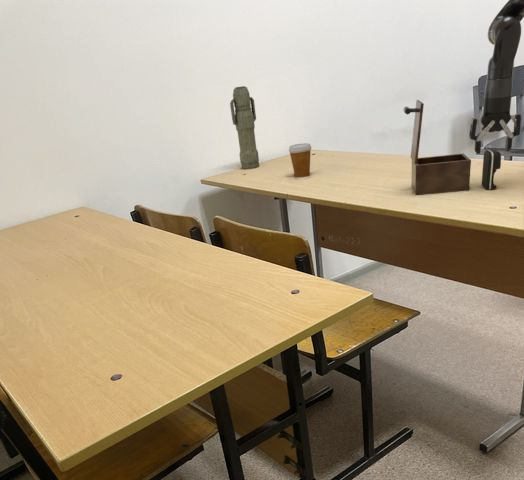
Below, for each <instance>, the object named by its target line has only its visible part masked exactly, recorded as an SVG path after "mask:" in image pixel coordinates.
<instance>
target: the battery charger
mask: <svg viewBox="0 0 524 480" xmlns="http://www.w3.org/2000/svg"><path fill="white" fill-rule="evenodd" d="M482 158H483V159H482V173H481V174H482V175H481V186H482V188H484V189H485V190H495V189H497V185H495V182H494V181H495V180H494V178H495V173H496V172H497V170H500V169H501V165H502V154H501V152H500V151H498V150H496V149H486V150H484V152H483V157H482Z"/></svg>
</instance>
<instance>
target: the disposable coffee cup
mask: <svg viewBox="0 0 524 480" xmlns="http://www.w3.org/2000/svg"><path fill="white" fill-rule="evenodd" d="M311 150H312V146H311V143H309V142H308V143H296V144H292V145H289V146H288V153H289V155H290V159H291V160H290V161H291V164H292V170H293V174H294V177H295V178H302V177H308V176H310V174H311V152H312V151H311Z"/></svg>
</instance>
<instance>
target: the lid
mask: <svg viewBox="0 0 524 480" xmlns="http://www.w3.org/2000/svg"><path fill="white" fill-rule="evenodd" d="M424 105H425V103H424V102H423V101H421V100H419V99H416V100H415V108H414V107H413V108H412V107H411V108H410V107H409V106H404V107H403V111H402V112H404V114H405V115H410V114H411V113H414V120H413V130H412V139H411V150H410V159H411V161H412V160H413V162H414V164H417V161H418V158H419V151H420V142H421V133H422V125H423V123H422V122H423V114H424Z"/></svg>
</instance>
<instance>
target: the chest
mask: <svg viewBox="0 0 524 480" xmlns="http://www.w3.org/2000/svg"><path fill="white" fill-rule="evenodd" d="M471 166H472V159H470V158H469V157H468V156H467V155H466V154H465V153H464V152H463V153H455V154H445V155H444V154H443V155H433V156H426V157H425V156H424V157H418V161H417V164H414V162H413V160H412V159H411V185H410V186H411V189H412V191H413V194H414V195H415V196H420V195H421V196H422V195H429V194H430V195H431V194H444V193H452V192H453V193H454V192H464V191H470V183H471V181H470V180H471V169H472V168H471Z"/></svg>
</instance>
